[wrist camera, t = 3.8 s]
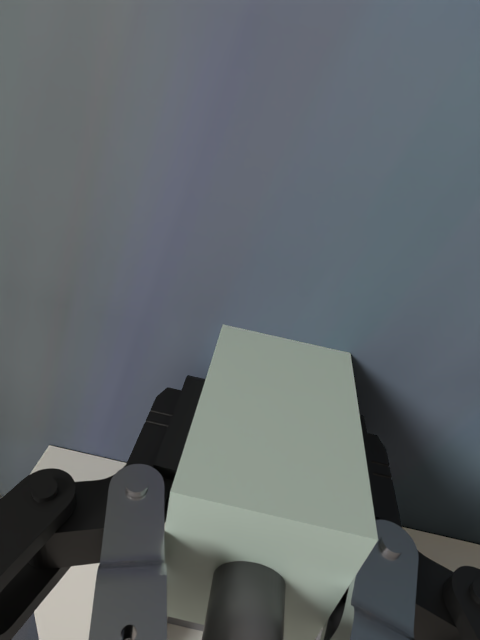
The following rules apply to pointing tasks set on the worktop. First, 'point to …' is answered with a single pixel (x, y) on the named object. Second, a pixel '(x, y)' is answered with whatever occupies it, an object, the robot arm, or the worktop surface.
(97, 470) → the socket plate
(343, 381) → the plug
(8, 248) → the worktop surface
